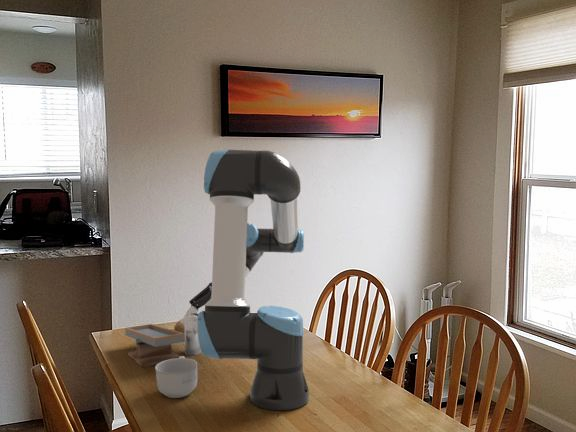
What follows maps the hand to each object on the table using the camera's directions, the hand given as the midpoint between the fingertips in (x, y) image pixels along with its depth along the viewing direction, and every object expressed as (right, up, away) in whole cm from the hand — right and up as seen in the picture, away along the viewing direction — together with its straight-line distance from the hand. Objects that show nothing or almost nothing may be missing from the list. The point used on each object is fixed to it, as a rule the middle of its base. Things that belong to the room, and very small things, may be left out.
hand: (195, 329), depth 190 cm
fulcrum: (-12, -8, -6) cm, 15 cm away
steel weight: (-1, -7, -1) cm, 7 cm away
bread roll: (-5, -6, +17) cm, 18 cm away
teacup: (0, -11, -31) cm, 33 cm away
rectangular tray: (-12, -2, -6) cm, 13 cm away
